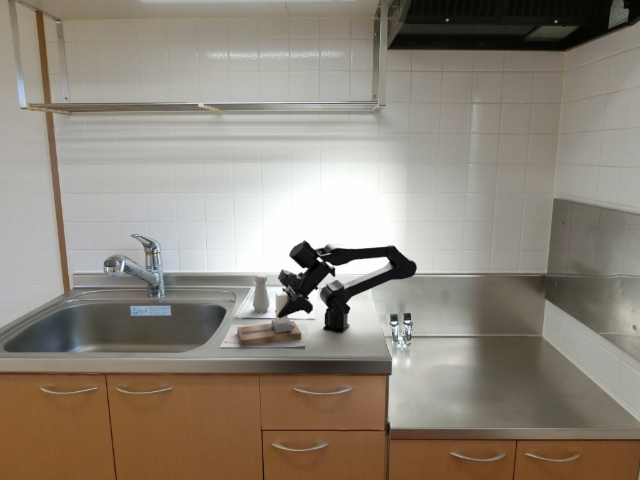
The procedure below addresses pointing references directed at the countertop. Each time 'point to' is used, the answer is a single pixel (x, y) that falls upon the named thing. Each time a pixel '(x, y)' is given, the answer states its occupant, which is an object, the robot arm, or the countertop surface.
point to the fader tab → (284, 322)
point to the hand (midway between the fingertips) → (277, 315)
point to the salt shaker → (261, 294)
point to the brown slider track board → (265, 334)
